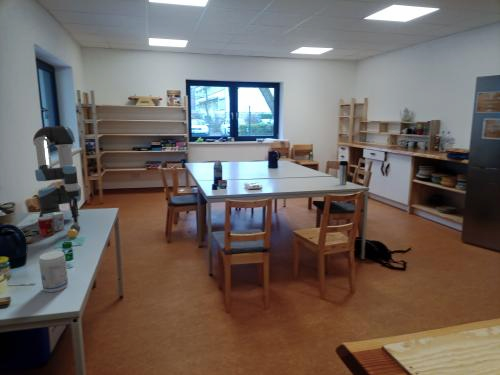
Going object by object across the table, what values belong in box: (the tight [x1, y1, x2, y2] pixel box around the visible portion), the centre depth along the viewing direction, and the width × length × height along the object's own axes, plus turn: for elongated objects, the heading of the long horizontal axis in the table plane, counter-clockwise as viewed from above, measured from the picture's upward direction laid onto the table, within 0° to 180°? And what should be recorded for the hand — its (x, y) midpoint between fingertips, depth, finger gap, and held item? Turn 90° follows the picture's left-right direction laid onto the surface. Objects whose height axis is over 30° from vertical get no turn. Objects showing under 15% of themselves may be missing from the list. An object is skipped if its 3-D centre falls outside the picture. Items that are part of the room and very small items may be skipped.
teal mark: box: [54, 236, 86, 249], centre depth 205 cm, size 14×14×1 cm
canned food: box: [37, 216, 56, 238], centre depth 218 cm, size 8×8×11 cm
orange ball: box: [66, 229, 79, 239], centre depth 212 cm, size 6×6×6 cm
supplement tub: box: [38, 250, 69, 293], centre depth 150 cm, size 10×10×15 cm
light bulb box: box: [43, 211, 65, 232], centre depth 227 cm, size 11×7×11 cm, turn 131°
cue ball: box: [69, 223, 81, 233], centre depth 221 cm, size 6×6×6 cm
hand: (76, 226), depth 224 cm, fingers closed
